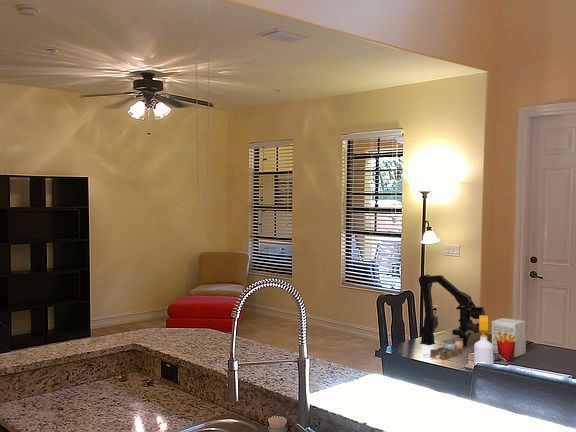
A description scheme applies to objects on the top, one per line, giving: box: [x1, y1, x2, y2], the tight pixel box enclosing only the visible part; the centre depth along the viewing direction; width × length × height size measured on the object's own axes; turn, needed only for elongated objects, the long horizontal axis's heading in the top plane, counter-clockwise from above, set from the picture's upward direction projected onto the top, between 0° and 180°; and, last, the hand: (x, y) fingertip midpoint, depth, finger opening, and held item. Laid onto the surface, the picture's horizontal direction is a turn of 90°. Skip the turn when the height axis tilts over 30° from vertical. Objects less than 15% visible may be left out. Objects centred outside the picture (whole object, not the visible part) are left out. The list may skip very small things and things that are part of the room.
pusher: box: [439, 346, 452, 354], centre depth 305 cm, size 7×6×4 cm
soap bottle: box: [473, 315, 495, 364], centre depth 286 cm, size 9×9×25 cm
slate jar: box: [443, 339, 455, 351], centre depth 310 cm, size 6×6×7 cm
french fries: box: [495, 331, 515, 362], centre depth 295 cm, size 9×8×15 cm
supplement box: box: [491, 317, 527, 358], centre depth 311 cm, size 13×13×18 cm
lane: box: [429, 346, 462, 361], centre depth 307 cm, size 17×9×4 cm, turn 135°
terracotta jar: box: [451, 336, 464, 353], centre depth 316 cm, size 6×6×7 cm
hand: (465, 345), depth 322 cm, fingers closed
